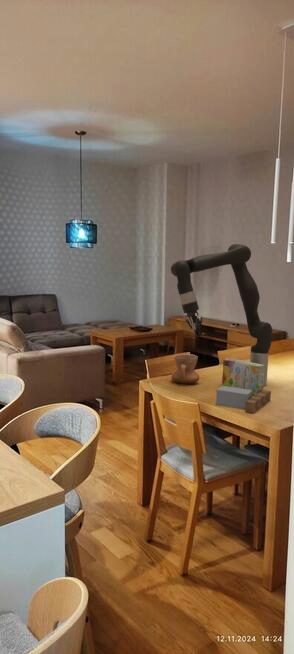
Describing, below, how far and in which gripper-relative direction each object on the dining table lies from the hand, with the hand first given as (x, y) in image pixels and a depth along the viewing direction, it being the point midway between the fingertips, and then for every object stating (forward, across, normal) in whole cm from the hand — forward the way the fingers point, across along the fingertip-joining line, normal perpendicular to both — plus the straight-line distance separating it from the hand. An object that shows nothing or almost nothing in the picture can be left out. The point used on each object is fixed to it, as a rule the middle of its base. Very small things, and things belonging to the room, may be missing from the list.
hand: (198, 336), depth 228 cm
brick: (+32, -18, +1) cm, 37 cm away
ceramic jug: (+24, +22, +3) cm, 33 cm away
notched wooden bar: (+35, -23, -8) cm, 42 cm away
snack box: (+33, 0, -15) cm, 36 cm away
